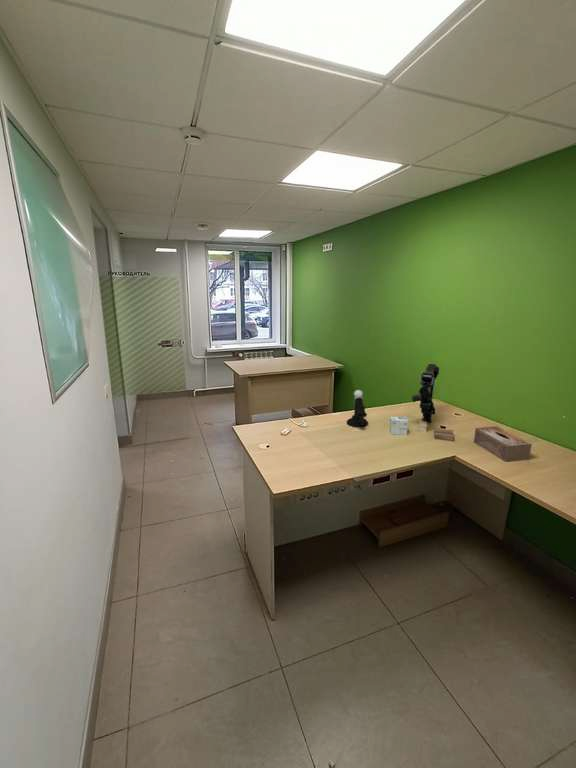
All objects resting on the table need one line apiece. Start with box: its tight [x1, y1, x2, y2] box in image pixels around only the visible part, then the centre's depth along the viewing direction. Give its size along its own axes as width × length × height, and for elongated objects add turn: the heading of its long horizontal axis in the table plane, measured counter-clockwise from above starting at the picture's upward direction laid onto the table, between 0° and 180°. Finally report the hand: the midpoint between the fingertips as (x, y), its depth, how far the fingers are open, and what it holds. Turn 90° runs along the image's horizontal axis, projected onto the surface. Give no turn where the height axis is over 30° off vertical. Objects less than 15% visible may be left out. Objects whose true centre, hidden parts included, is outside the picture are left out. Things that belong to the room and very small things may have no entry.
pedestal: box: [433, 428, 455, 442], centre depth 217 cm, size 11×11×3 cm
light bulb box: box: [389, 416, 409, 436], centre depth 223 cm, size 11×7×11 cm, turn 84°
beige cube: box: [417, 420, 428, 433], centre depth 227 cm, size 5×5×6 cm
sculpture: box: [346, 389, 369, 428], centre depth 234 cm, size 15×24×25 cm, turn 1°
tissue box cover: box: [473, 425, 533, 463], centre depth 197 cm, size 26×14×10 cm, turn 9°
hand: (423, 413), depth 225 cm, fingers open, 9 cm apart
